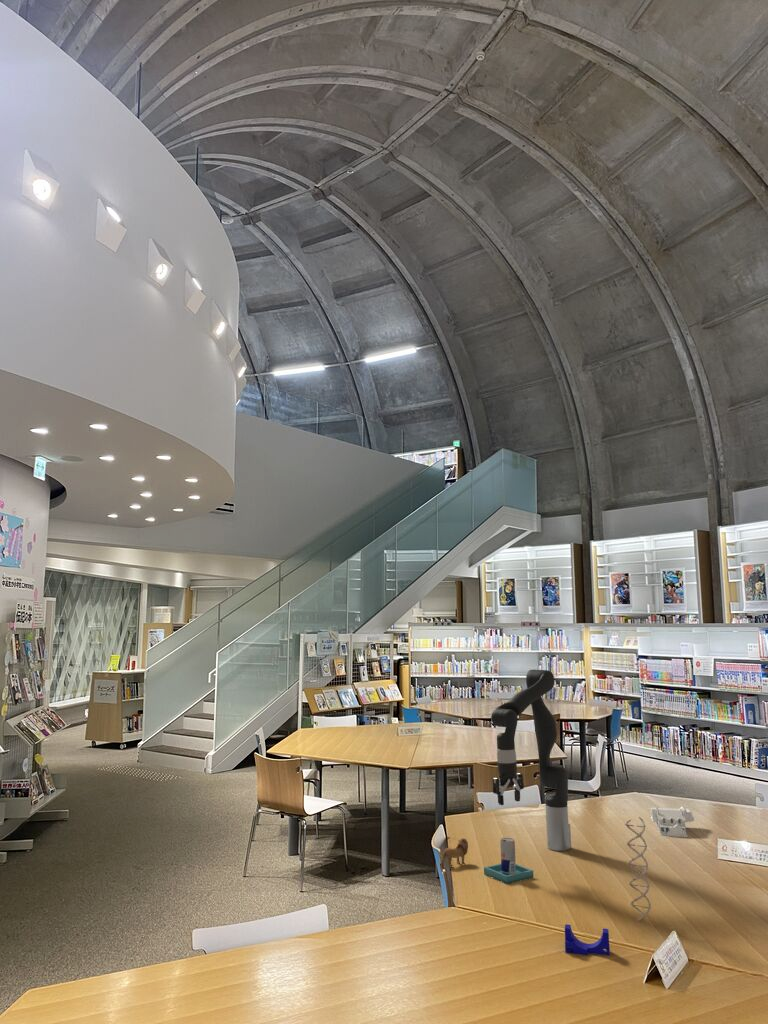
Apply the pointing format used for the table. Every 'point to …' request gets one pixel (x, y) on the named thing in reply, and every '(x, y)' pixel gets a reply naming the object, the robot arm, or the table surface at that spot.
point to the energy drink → (508, 856)
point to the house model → (671, 820)
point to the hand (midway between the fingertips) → (509, 803)
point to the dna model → (637, 870)
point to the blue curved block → (583, 948)
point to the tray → (520, 874)
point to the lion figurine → (455, 852)
